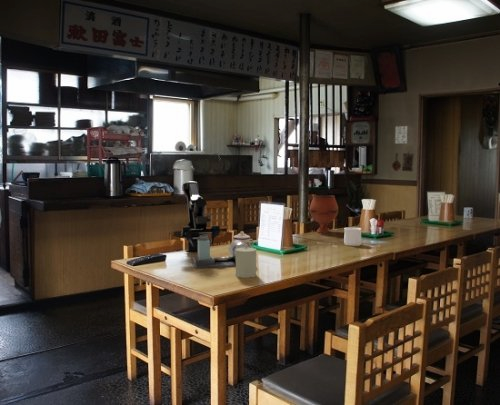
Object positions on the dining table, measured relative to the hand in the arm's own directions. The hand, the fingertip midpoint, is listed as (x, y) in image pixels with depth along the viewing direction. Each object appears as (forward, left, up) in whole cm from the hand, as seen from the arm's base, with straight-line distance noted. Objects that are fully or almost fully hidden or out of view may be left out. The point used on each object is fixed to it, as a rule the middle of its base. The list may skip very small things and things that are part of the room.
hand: (202, 245), depth 235 cm
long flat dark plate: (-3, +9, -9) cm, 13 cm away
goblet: (-115, +38, -9) cm, 121 cm away
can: (+15, +27, -9) cm, 33 cm away
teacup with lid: (-30, +10, -9) cm, 33 cm away
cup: (-74, +62, -9) cm, 97 cm away
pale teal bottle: (+2, +1, -8) cm, 8 cm away
